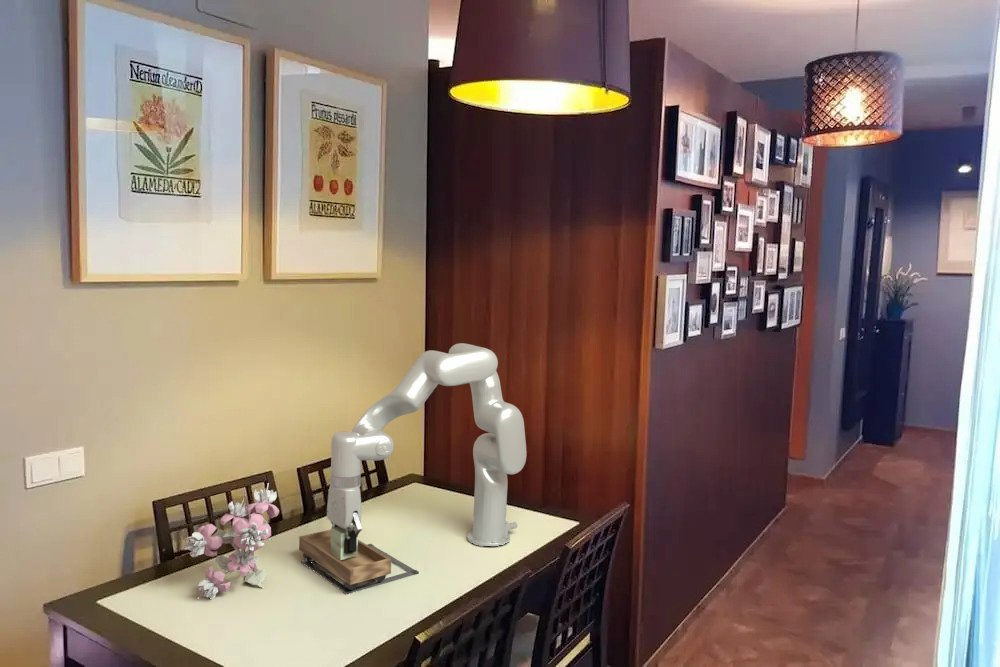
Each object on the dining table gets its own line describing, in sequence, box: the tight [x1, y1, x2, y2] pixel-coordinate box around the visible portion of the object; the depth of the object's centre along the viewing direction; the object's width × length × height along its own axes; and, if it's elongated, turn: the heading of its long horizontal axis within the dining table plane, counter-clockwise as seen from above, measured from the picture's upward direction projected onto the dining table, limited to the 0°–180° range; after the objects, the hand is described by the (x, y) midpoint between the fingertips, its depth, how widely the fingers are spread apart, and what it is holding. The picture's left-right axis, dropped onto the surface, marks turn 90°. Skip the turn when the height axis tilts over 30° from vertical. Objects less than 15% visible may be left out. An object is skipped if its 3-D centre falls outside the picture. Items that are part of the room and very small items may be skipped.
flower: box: [182, 482, 280, 600], centre depth 188 cm, size 20×22×25 cm
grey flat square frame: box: [300, 543, 420, 595], centre depth 203 cm, size 22×24×1 cm
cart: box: [298, 528, 392, 590], centre depth 200 cm, size 12×27×6 cm, turn 41°
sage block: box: [330, 524, 359, 560], centre depth 199 cm, size 5×5×7 cm
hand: (344, 548), depth 199 cm, fingers open, 5 cm apart
